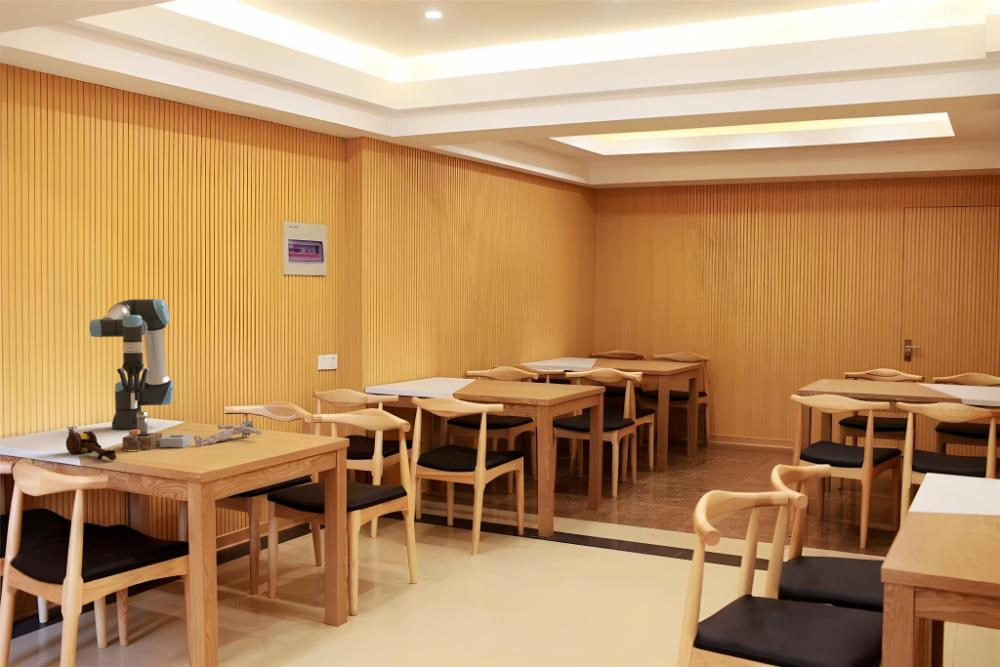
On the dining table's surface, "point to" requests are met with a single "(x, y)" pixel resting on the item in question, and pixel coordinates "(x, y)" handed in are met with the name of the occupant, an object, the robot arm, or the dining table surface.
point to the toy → (227, 433)
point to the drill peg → (142, 423)
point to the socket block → (142, 441)
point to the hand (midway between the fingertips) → (134, 408)
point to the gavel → (86, 444)
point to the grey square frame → (175, 441)
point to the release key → (134, 434)
